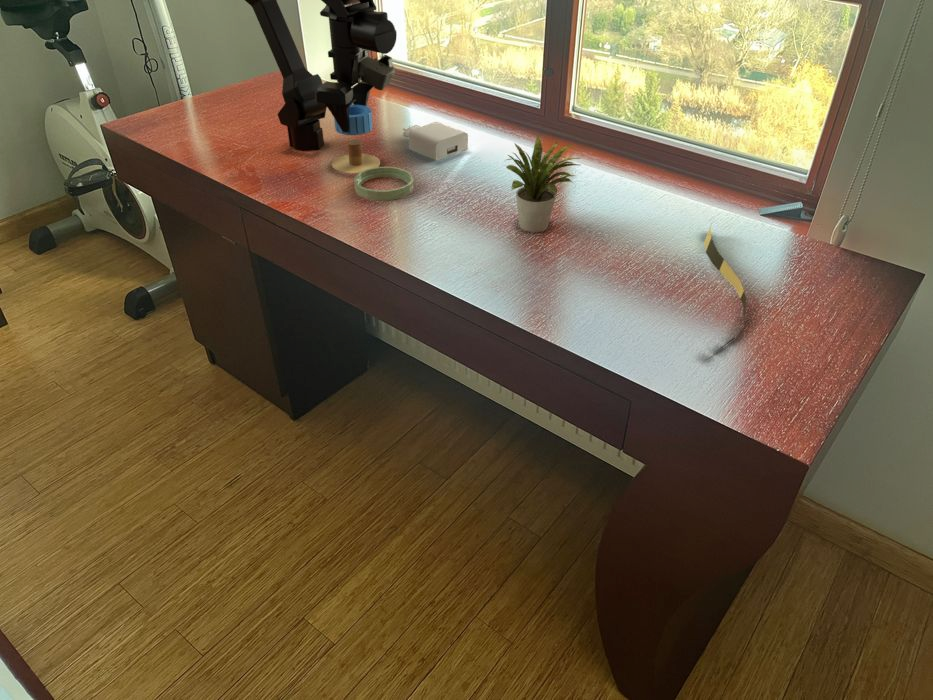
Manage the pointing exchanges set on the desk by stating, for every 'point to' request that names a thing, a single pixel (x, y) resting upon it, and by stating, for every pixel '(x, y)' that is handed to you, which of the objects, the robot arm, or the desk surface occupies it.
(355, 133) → the blue gear
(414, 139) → the charger
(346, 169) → the tape holder
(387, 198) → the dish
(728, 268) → the tape
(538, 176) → the house plant
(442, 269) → the desk surface
